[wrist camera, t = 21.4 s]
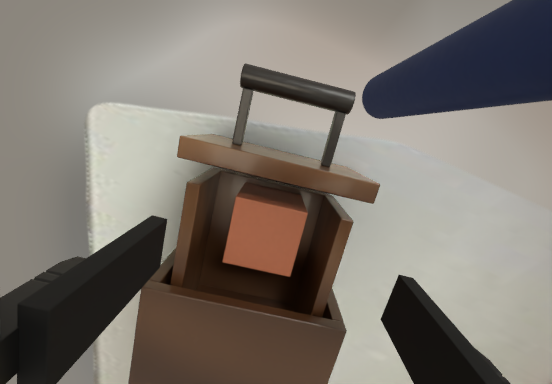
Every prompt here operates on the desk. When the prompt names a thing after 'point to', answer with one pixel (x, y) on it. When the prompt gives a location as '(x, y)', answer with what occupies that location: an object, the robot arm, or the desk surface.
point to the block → (265, 229)
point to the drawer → (280, 167)
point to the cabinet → (228, 338)
